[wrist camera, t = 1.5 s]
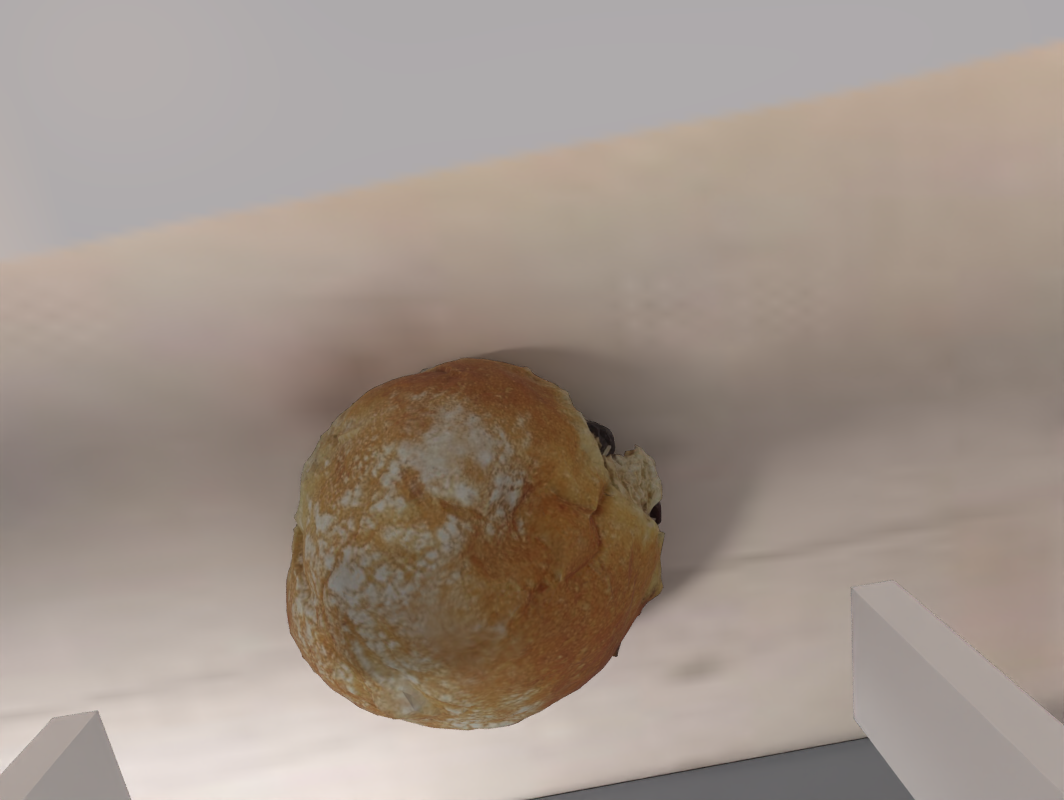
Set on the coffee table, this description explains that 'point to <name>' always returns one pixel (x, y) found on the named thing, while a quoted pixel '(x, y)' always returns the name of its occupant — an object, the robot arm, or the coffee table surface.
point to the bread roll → (469, 547)
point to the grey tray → (771, 779)
